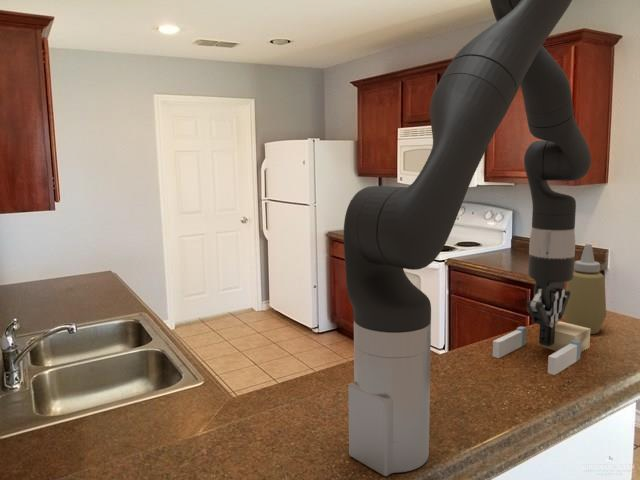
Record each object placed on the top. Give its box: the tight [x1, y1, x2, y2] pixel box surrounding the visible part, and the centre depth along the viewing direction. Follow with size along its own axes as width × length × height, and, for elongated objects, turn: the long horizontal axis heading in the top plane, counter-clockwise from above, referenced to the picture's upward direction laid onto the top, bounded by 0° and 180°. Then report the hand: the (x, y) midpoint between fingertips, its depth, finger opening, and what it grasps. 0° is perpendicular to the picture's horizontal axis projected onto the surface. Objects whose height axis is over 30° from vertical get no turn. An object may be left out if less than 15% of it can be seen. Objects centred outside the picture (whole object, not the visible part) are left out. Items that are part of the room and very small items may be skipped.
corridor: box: [492, 325, 582, 376], centre depth 94 cm, size 10×11×3 cm
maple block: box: [542, 320, 591, 353], centre depth 99 cm, size 6×6×4 cm
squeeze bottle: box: [563, 244, 607, 335], centre depth 107 cm, size 8×8×18 cm
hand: (546, 344), depth 97 cm, fingers closed
